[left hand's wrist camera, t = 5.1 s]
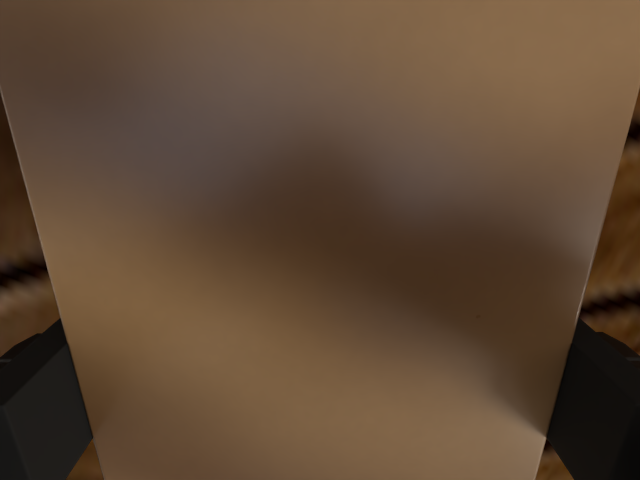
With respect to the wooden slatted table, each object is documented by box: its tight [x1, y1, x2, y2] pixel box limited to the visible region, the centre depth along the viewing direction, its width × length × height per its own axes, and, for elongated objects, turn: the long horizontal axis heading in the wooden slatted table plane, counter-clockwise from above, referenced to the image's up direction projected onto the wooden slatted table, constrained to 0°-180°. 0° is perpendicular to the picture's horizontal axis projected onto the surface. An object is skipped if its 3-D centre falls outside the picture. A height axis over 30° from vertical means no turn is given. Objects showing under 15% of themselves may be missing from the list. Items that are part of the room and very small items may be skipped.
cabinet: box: [0, 0, 640, 480], centre depth 12 cm, size 18×11×10 cm, turn 0°
